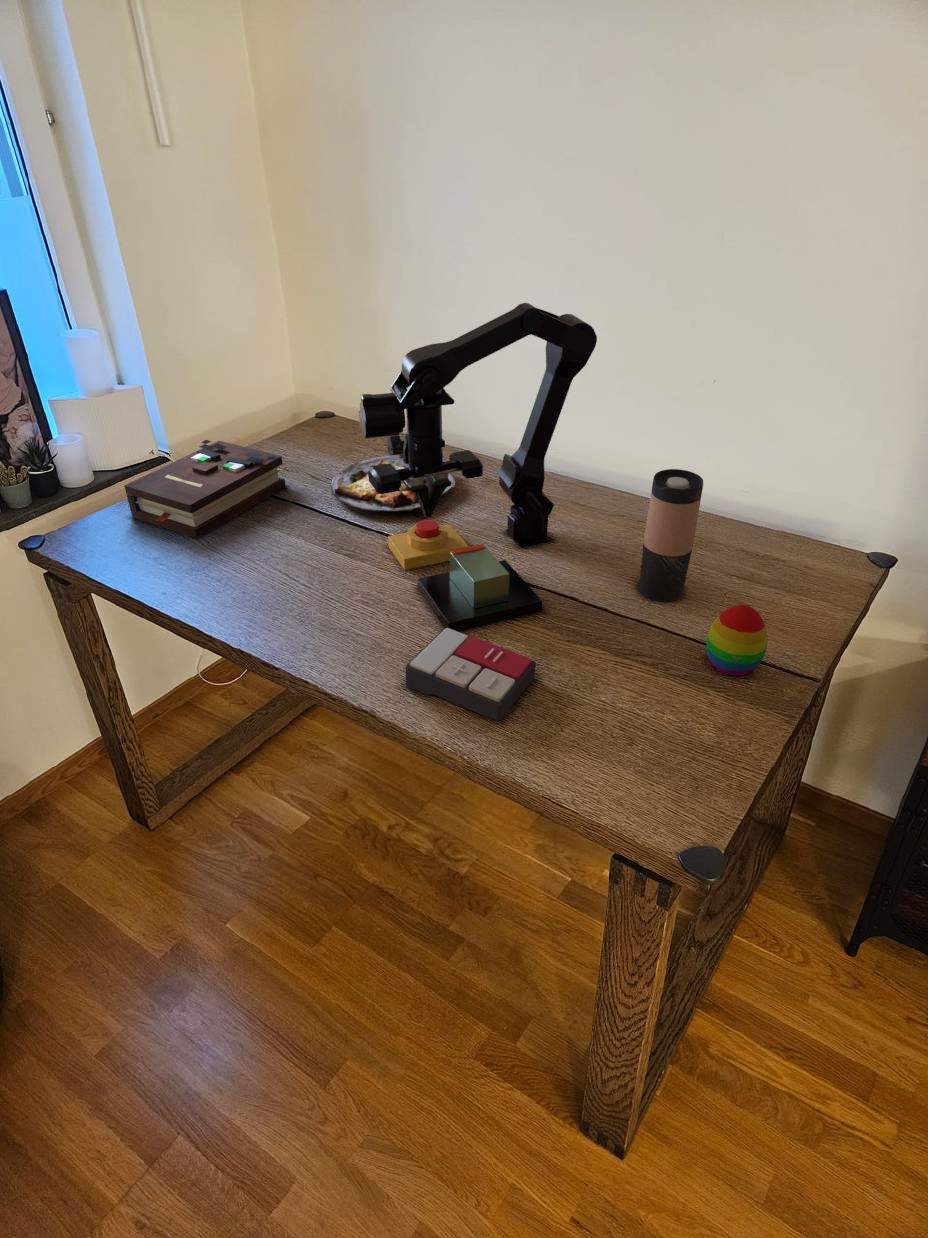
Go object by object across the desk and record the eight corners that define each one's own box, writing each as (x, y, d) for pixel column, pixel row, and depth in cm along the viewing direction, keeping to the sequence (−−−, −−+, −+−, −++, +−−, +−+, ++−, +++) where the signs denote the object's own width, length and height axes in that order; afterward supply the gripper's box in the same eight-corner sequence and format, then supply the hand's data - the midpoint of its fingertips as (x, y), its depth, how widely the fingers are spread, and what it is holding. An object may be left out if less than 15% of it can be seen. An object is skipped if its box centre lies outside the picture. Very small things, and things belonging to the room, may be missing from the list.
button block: (449, 534, 150) (449, 515, 148) (468, 556, 143) (468, 536, 141) (388, 546, 146) (387, 527, 144) (404, 570, 139) (403, 550, 137)
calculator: (501, 701, 105) (404, 661, 110) (498, 726, 107) (404, 685, 113) (537, 657, 113) (445, 622, 118) (534, 680, 115) (444, 645, 121)
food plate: (403, 530, 151) (402, 513, 149) (308, 501, 161) (306, 485, 159) (473, 482, 169) (473, 466, 167) (383, 458, 179) (382, 443, 177)
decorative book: (108, 484, 150) (222, 431, 172) (118, 520, 154) (228, 465, 176) (184, 507, 142) (293, 449, 164) (192, 545, 147) (297, 483, 168)
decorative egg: (745, 689, 113) (760, 631, 107) (692, 666, 117) (704, 608, 111) (770, 662, 118) (785, 605, 112) (718, 641, 122) (730, 585, 116)
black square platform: (504, 569, 139) (505, 559, 138) (542, 611, 129) (542, 600, 128) (417, 588, 134) (417, 578, 133) (448, 633, 124) (448, 623, 123)
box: (508, 600, 128) (509, 572, 125) (473, 609, 126) (474, 580, 123) (483, 570, 135) (483, 543, 132) (449, 578, 133) (449, 550, 130)
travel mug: (686, 582, 136) (706, 472, 125) (681, 606, 130) (701, 492, 119) (640, 575, 138) (656, 465, 127) (633, 597, 132) (649, 485, 121)
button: (434, 526, 145) (433, 518, 144) (442, 536, 142) (442, 527, 141) (413, 530, 143) (412, 522, 142) (420, 541, 140) (420, 532, 139)
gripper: (458, 407, 141) (459, 489, 150) (355, 422, 135) (362, 507, 144) (484, 429, 132) (483, 514, 141) (375, 446, 127) (381, 534, 135)
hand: (427, 516), depth 141 cm, fingers closed
